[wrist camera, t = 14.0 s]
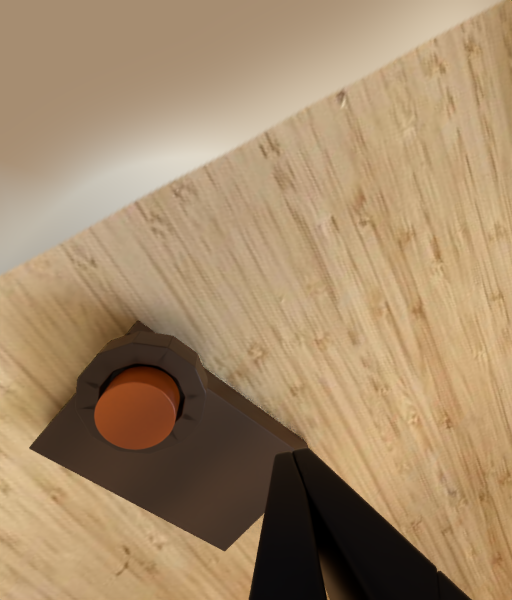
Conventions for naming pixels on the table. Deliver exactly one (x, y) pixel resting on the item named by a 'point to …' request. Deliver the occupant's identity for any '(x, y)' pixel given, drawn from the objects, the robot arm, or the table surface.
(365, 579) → the robot arm
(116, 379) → the button
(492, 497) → the table surface
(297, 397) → the table surface
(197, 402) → the button block
